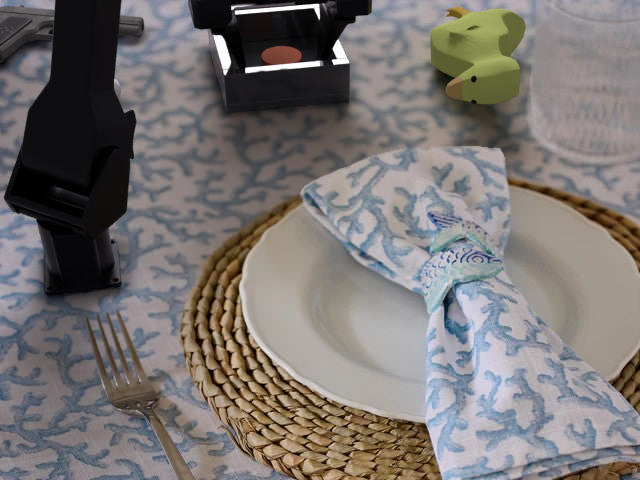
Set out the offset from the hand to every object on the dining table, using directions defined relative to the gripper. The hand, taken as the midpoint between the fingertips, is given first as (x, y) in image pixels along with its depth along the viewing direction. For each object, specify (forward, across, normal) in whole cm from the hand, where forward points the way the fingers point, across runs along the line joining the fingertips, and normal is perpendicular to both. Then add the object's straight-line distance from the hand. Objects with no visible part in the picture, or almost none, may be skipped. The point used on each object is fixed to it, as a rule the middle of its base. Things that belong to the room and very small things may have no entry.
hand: (282, 73), depth 112 cm
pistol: (+1, +26, -10) cm, 28 cm away
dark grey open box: (+2, 0, -4) cm, 4 cm away
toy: (0, -20, -8) cm, 22 cm away
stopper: (+1, 0, 0) cm, 1 cm away
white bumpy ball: (+2, +19, -1) cm, 19 cm away
